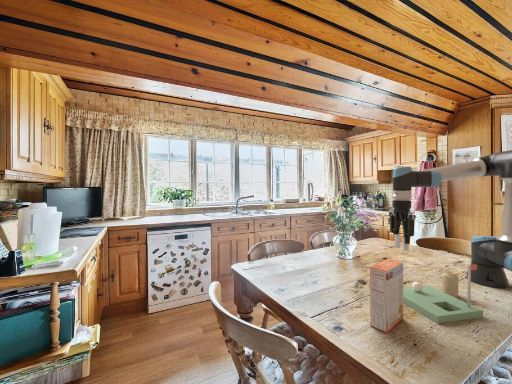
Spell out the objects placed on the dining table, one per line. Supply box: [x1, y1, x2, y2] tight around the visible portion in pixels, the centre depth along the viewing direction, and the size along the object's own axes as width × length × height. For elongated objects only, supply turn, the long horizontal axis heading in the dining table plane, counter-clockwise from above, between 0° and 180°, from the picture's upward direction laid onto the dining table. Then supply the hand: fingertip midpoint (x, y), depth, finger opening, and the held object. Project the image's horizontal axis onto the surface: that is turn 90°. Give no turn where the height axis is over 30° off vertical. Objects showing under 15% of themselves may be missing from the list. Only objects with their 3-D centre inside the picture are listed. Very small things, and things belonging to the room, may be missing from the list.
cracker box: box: [369, 258, 404, 334], centre depth 82 cm, size 14×6×21 cm, turn 128°
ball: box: [411, 281, 424, 292], centre depth 101 cm, size 4×4×4 cm
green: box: [403, 264, 484, 324], centre depth 94 cm, size 21×22×18 cm
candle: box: [441, 271, 459, 298], centre depth 103 cm, size 6×6×10 cm
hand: (401, 249), depth 110 cm, fingers open, 4 cm apart
